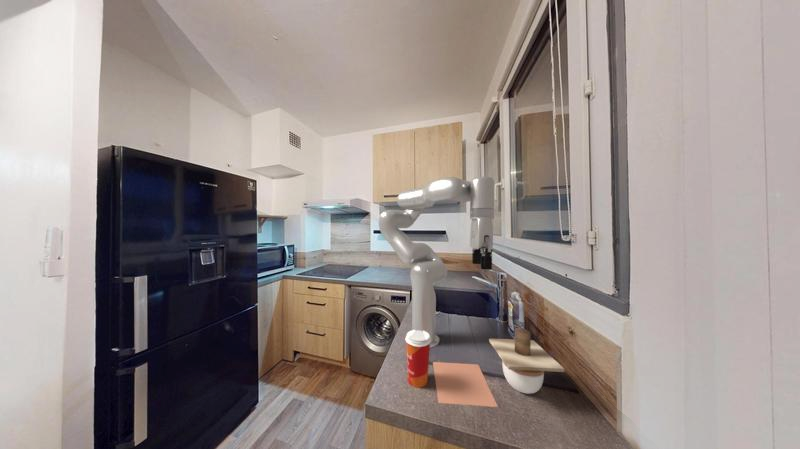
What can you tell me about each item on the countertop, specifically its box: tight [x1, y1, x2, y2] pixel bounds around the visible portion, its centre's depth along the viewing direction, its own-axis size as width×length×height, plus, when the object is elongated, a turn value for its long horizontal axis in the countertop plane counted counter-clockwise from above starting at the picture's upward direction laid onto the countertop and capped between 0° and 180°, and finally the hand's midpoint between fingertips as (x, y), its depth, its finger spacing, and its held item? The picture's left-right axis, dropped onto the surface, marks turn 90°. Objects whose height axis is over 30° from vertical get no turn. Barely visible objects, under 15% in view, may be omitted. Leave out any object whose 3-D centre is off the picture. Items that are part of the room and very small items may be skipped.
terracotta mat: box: [432, 361, 499, 408], centre depth 64 cm, size 17×15×1 cm
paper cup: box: [404, 329, 431, 388], centre depth 64 cm, size 8×8×14 cm
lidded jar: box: [501, 359, 545, 395], centre depth 63 cm, size 11×11×9 cm
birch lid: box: [488, 327, 565, 373], centre depth 63 cm, size 14×14×7 cm
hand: (481, 266), depth 72 cm, fingers open, 9 cm apart
